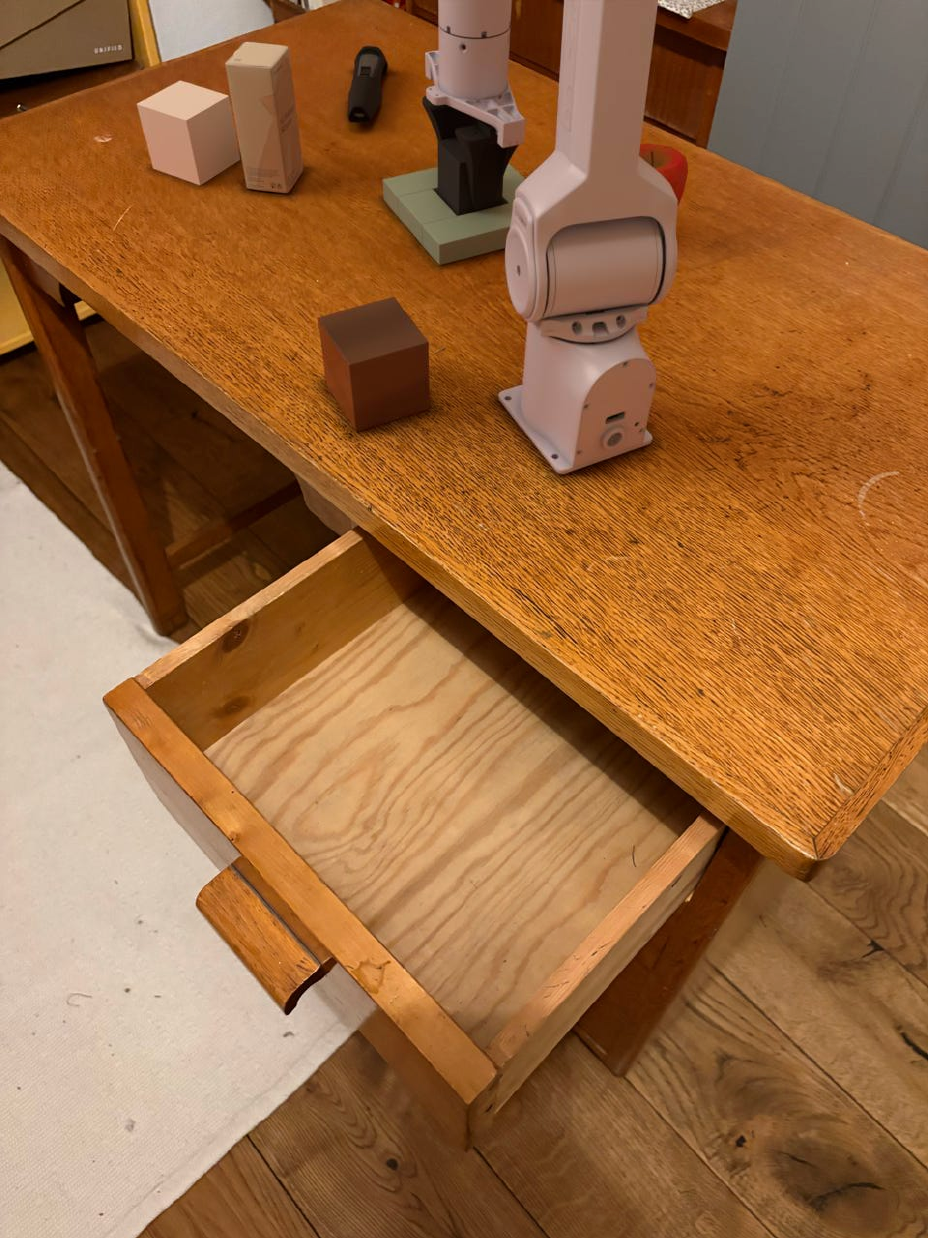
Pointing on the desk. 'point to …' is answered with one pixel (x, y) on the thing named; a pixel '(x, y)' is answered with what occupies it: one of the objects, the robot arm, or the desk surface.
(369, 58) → the electric trimmer
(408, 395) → the cube
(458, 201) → the black block
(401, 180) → the square frame
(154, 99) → the pale pink cube
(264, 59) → the box
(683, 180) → the apple
